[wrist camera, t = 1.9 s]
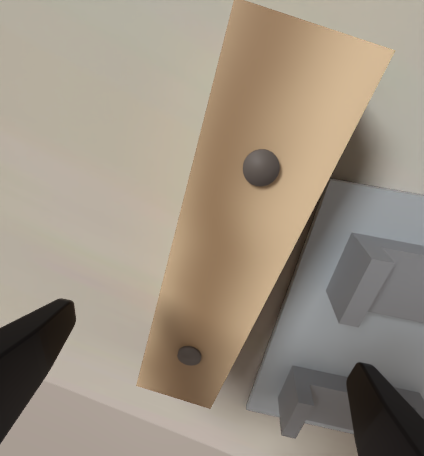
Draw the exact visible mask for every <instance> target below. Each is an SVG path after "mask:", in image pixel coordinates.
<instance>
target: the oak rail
mask: <svg viewBox="0 0 424 456" xmlns="http://www.w3.org/2000/svg"><path fill="white" fill-rule="evenodd" d="M394 52H395V50H392V49H389V48H386V47H383V46H380V45H377V44H374V43H371V42H368V41H365V40H362V39H359V38H356V37H353V36H350V35H347V34H344V33H341V32H338V31H335V30H332V29H329V28H326V27H323V26H320V25H317V24H314V23H311V22H308V21H305V20H302V19H299V18H296V17H293V16H290V15H287V14H284V13H281V12H278V11H275V10H272V9H269V8H266V7H263V6H260V5H257V4H254V3H251V2H248V1H245V0H234V2H233V6H232V10H231V14H230V18H229V22H228V26H227V30H226V34H225V38H224V42H223V46H222V49H221V53H220V57H219V61H218V65H217V69H216V73H215V77H214V81H213V85H212V89H211V93H210V97H209V101H208V105H207V109H206V113H205V117H204V121H203V124H202V128H201V132H200V136H199V140H198V144H197V148H196V152H195V156H194V160H193V164H192V168H191V172H190V176H189V180H188V184H187V188H186V192H185V195H184V199H183V203H182V207H181V211H180V215H179V219H178V223H177V227H176V231H175V235H174V239H173V243H172V247H171V251H170V255H169V259H168V263H167V267H166V270H165V274H164V278H163V282H162V286H161V290H160V294H159V298H158V302H157V306H156V310H155V314H154V318H153V322H152V326H151V330H150V334H149V338H148V341H147V345H146V349H145V353H144V357H143V361H142V365H141V369H140V373H139V377H138V381H137V385H136V386H139V387H142V388H145V389H149V390H152V391H155V392H158V393H161V394H165V395H168V396H171V397H174V398H177V399H181V400H184V401H187V402H190V403H193V404H197V405H200V406H203V407H206V408H209V409H211V407H212V405H213V403H214V401H215V399H216V397H217V395H218V393H219V391H220V389H221V387H222V385H223V383H224V381H225V380H226V378H227V376H228V374H229V372H230V370H231V368H232V366H233V364H234V362H235V360H236V358H237V356H238V354H239V352H240V351H241V349H242V347H243V345H244V343H245V341H246V339H247V337H248V335H249V333H250V331H251V329H252V327H253V325H254V323H255V321H256V320H257V318H258V316H259V314H260V312H261V310H262V308H263V306H264V304H265V302H266V300H267V298H268V296H269V294H270V292H271V291H272V289H273V287H274V285H275V283H276V281H277V279H278V277H279V275H280V273H281V271H282V269H283V267H284V265H285V263H286V261H287V260H288V258H289V256H290V254H291V252H292V250H293V248H294V246H295V244H296V242H297V240H298V238H299V236H300V234H301V232H302V231H303V229H304V227H305V225H306V223H307V221H308V219H309V217H310V215H311V213H312V211H313V209H314V207H315V205H316V203H317V201H318V200H319V198H320V196H321V194H322V192H323V190H324V188H325V186H326V184H327V182H328V180H329V178H330V176H331V174H332V172H333V171H334V169H335V167H336V165H337V163H338V161H339V159H340V157H341V155H342V153H343V151H344V149H345V147H346V145H347V143H348V141H349V140H350V138H351V136H352V134H353V132H354V130H355V128H356V126H357V124H358V122H359V120H360V118H361V116H362V114H363V112H364V111H365V109H366V107H367V105H368V103H369V101H370V99H371V97H372V95H373V93H374V91H375V89H376V87H377V85H378V83H379V82H380V80H381V78H382V76H383V74H384V72H385V70H386V68H387V66H388V64H389V62H390V60H391V58H392V56H393V54H394Z"/></svg>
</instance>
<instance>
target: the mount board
mask: <svg viewBox="0 0 424 456" xmlns="http://www.w3.org/2000/svg"><path fill="white" fill-rule="evenodd" d="M358 362H363V363H367V364H371V365H373V366H374V367H375V368H376V369H377V370H378V371H379V372H380V373H381V374H382V375H383V376H384V377H385V378H386V379H387V380H388V381H389V383H390V384H391V385H392V386H393V387H394V388H395V389H396V390H397V391H398V392H399V393H400V394H401V395H402V396H403V397H404V399H405V400H406V401H407V402H408V403H409V404H410V405H411V406H412V407H413V408H414V409H415V410H416V411H417V412H418V414H419V415H420V416H421V417H422V418H423V419H424V195H421V194H415V193H409V192H404V191H398V190H393V189H387V188H381V187H376V186H370V185H365V184H359V183H354V182H348V181H342V180H337V179H331V178H329V180H328V182H327V184H326V186H325V188H324V191H323V194H322V197H321V199H320V202H319V205H318V208H317V210H316V213H315V216H314V219H313V222H312V224H311V227H310V230H309V233H308V235H307V238H306V241H305V244H304V247H303V249H302V252H301V255H300V258H299V260H298V263H297V266H296V269H295V271H294V274H293V277H292V280H291V283H290V285H289V288H288V291H287V294H286V296H285V299H284V302H283V305H282V308H281V310H280V313H279V316H278V319H277V321H276V324H275V327H274V330H273V332H272V335H271V338H270V341H269V344H268V346H267V349H266V352H265V355H264V357H263V360H262V363H261V366H260V369H259V371H258V374H257V377H256V380H255V382H254V385H253V388H252V391H251V394H250V396H249V399H248V402H247V405H246V410H249V411H253V412H258V413H262V414H267V415H271V416H276V417H280V426H281V435H282V436H287V437H291V438H295V439H296V437H297V435H298V433H299V432H300V430H301V428H302V426H303V425H304V423H307V424H311V425H316V426H320V427H324V428H329V429H333V430H338V431H342V432H347V433H351V434H354V432H353V425H352V419H351V413H350V406H349V400H348V394H347V387H346V381H347V377H348V376H349V374H350V372H351V371H352V369H353V368H354V366H355V364H356V363H358Z"/></svg>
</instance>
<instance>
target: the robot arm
mask: <svg viewBox="0 0 424 456" xmlns="http://www.w3.org/2000/svg"><path fill="white" fill-rule="evenodd" d="M75 322H76V315H75V308H74V303H73V301H71V300H67V299H62V298H61V299H57V300H55V301H53V302H51V303H49V304H47V305H45V306H43V307H41V308H39V309H37V310H35V311H33V312H31V313H29V314H27V315H25V316H23V317H21V318H19V319H17V320H15V321H13V322H11V323H9V324H7V325H5V326H3V327H1V328H0V444H1V442H2V441H3V439H4V438H5V436H6V435H7V433H8V432H9V430H10V429H11V427H12V426H13V424H14V423H15V421H16V420H17V419H18V417H19V416H20V414H21V413H22V411H23V410H24V408H25V407H26V405H27V404H28V402H29V401H30V399H31V398H32V396H33V395H34V393H35V392H36V390H37V389H38V388H39V386H40V385H41V383H42V382H43V380H44V379H45V377H46V376H47V374H48V372H49V371H50V369H51V367H52V366H53V364H54V362H55V360H56V358H57V356H58V355H59V353H60V351H61V349H62V347H63V345H64V344H65V342H66V340H67V338H68V336H69V335H70V333H71V331H72V329H73V327H74V325H75ZM346 387H347V394H348V400H349V406H350V413H351V419H352V425H353V432H354V437H355V443H356V447H357V452H358V456H424V419H423V418H422V417H421V416H420V415H419V414H418V412H417V411H416V410H415V409H414V408H413V407H412V406H411V405H410V404H409V403H408V402H407V401H406V400H405V399H404V397H403V396H402V395H401V394H400V393H399V392H398V391H397V390H396V389H395V388H394V387H393V386H392V385H391V384H390V383H389V381H388V380H387V379H386V378H385V377H384V376H383V375H382V374H381V373H380V372H379V371H378V370H377V369H376V368H375V367H374V366H373V365H371V364H367V363H363V362H358V363H356V364H355V366H354V368H353V369H352V371H351V372H350V374H349V376H348V377H347V381H346Z"/></svg>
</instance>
